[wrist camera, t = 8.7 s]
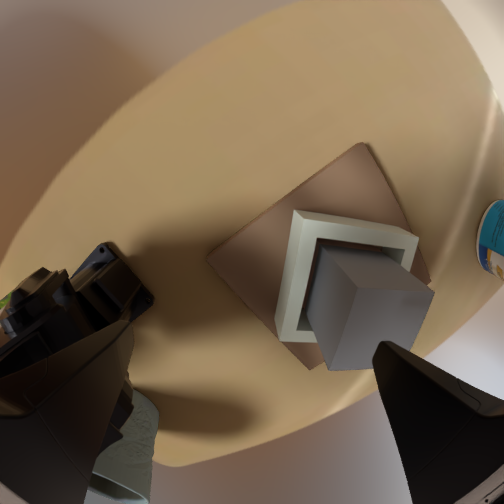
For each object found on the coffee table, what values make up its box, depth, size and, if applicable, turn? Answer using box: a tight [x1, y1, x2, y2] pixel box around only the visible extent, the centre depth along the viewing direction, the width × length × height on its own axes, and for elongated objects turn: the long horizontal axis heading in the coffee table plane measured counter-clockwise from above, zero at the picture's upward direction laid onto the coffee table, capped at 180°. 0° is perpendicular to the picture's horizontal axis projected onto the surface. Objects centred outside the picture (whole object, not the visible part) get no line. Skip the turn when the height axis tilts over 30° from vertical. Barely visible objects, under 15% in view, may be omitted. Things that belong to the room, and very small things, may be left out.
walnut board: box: [206, 142, 431, 370], centre depth 21 cm, size 14×14×1 cm
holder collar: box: [274, 210, 419, 343], centre depth 19 cm, size 9×9×3 cm
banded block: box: [302, 238, 435, 371], centre depth 16 cm, size 5×5×8 cm
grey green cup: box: [87, 389, 159, 504], centre depth 20 cm, size 10×10×12 cm
